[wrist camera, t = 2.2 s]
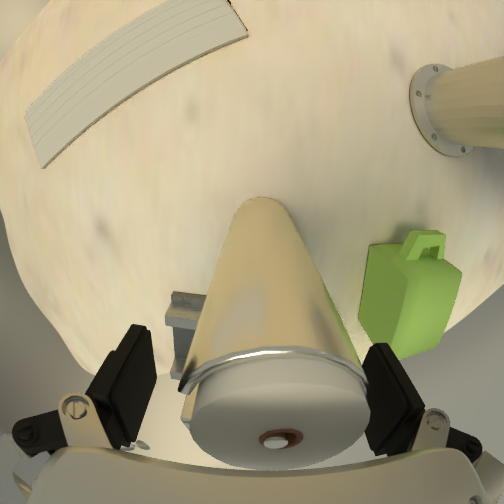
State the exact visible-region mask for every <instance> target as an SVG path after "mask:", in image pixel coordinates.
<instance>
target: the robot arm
mask: <svg viewBox="0 0 504 504" xmlns="http://www.w3.org/2000/svg"><path fill="white" fill-rule="evenodd" d="M410 103H411V108H412V112H413V116H414V118H415V121H416V124H417V126H418V128H419V130H420V132H421V133H422V134H423V136H424V137H425V139H426V140H427V141H428V142H429V144H430V145H431V146H432V147H434V148H435V149H436V150H437V151H439V152H441V153H443V154H444V155H448V156H455V157H459V156H464V155H466V154H468V153H469V152H470V151H472V150H473V148H474V147H475V146H478V147H488V148H497V149H504V57H499V58H495V59H490V60H486V61H482V62H478V63H474V64H471V65H467V66H464V67H460V68H457V69H453V70H452V69H451V68H449V67H447V66H445V65H441V64H430V65H427V66H424V67H422V68H420V69H419V70H418V71H417V72H416V73H415V75H414V77H413V79H412V83H411V86H410ZM362 367H363V370H364V372H365V374H366V377H367V379H368V381H369V384H370V399H369V402H367V403H368V406H369V409H370V419H369V423H368V425H367V427H366V429H365V431H364V432H365V434H366V437H367V440H368V444H369V446H370V449H371V450H372V451H374V453H375V456H379V455H383V454H386V453H387V456H388V457H385V458H380V459H375V460H371V461H365V462H360V463H355V464H349V465H341V466H334V467H326V468H316V469H304V470H279V471H258V470H234V469H220V468H211V467H203V466H195V465H189V464H182V463H177V462H171V461H166V460H161V459H156V458H151V457H146V456H142V455H138V454H134V453H129V452H125V451H121V450H120V448H121V445H122V446H125V447H130V444H131V442H135V441H136V438H137V435H138V432H139V429H140V426H141V423H142V420H143V418H144V415H145V412H146V409H147V406H148V403H149V400H150V397H151V395H152V392H153V389H154V386H155V384H156V380H157V374H156V368H155V361H154V354H153V347H152V339H151V332H150V330H147V328H146V326H142V325H136V324H132V325H131V326H130V328H129V330H128V331H127V333H126V334H125V336H124V338H123V339H122V341H121V343H120V344H119V346H118V347H117V349H116V351H114V350H112V351H111V352H110V353H109V354H108V356H107V357H106V359H105V361H104V362H103V364H102V366H101V367H100V369H99V371H98V372H97V374H96V376H95V377H94V379H93V381H92V382H91V384H90V386H89V388H88V389H87V391H86V393H85V394H82V393H77V392H76V393H70V394H67V395H66V396H64V397H63V398H62V399H61V400H60V402H59V405H58V410H54V411H51V412H48V413H44V414H40V415H37V416H33V417H29V418H25V419H22V420H19V421H18V422H17V423H15V425H14V427H13V430H12V434H11V435H8V434H5V435H3V436H1V437H0V504H497V502H498V500H499V498H500V496H501V495H502V493H503V491H504V464H502V463H501V462H500V461H499V460H497V459H496V458H494V457H493V456H492V455H491V454H489V453H488V452H487V451H484V452H482V445H481V443H480V441H479V440H478V439H477V438H475V437H473V436H471V435H469V434H466V433H464V432H461V431H459V430H456V429H454V428H451V427H450V420H449V417H448V416H447V414H446V413H445V412H444V411H442V410H440V409H436V408H431V409H428V410H427V411H425V409H424V407H425V404H424V403H423V401H422V399H421V397H420V395H419V394H418V392H417V390H416V389H415V387H414V385H413V384H412V382H411V380H410V378H409V377H408V375H407V373H406V372H405V370H404V368H403V367H402V365H401V363H400V362H399V360H398V359H397V357H396V355H395V354H394V352H393V351H392V349H391V347H390V346H389V344H388V343H375V344H374V345H373V346H371V347H370V348H369V351H368V353H367V355H366V358H365V360H364V362H363V364H362ZM35 480H36V481H35ZM34 481H35V484H34V486H33V488H31V487H32V483H33V482H34Z"/></svg>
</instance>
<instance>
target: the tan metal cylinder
mask: <svg viewBox="0 0 504 504" xmlns="http://www.w3.org/2000/svg"><path fill="white" fill-rule="evenodd" d="M178 391H179V392H181V393H183V394H186V398H185V402H184V406H183V410H182V414H181V421H182V422H183V423H184V424H185V425H186V427H187V428H188V429H189V431H190V433H191V435H192V438H193V440H194V441H195V442H196V443H197V444H198V445H199V447H200V448H201V449H202V450H203V451H204V452H206V453H208V454H209V455H211V456H212V457H214V458H216V459H218V460H220V461H222V462H224V463H227V464H229V465H232V466H237V467H243V468H250V469H257V470H287V469H294V468H299V467H305V466H309V465H312V464H315V463H318V462H322V461H324V460H326V459H328V458H331V457H333V456H335V455H337V454H339V453H341V452H342V451H344V450H345V449H347V448H348V447H350V446H351V445H353V444H354V443H355V441H356V440H358V439H359V438H360V437H361V436H362V434H363V433H364V431H365V429H366V427H367V425H368V423H369V419H370V409H369V406H368V403H367V402H369V399H370V384H369V381H368V379H367V377H366V374H365V372H364V370H363V367H362V365H361V363H360V360H359V358H358V356H357V353H356V351H355V349H354V347H353V344H352V342H351V340H350V338H349V335H348V333H347V331H346V329H345V327H344V324H343V322H342V320H341V318H340V316H339V314H338V311H337V309H336V307H335V305H334V303H333V301H332V299H331V297H330V295H329V293H328V291H327V288H326V286H325V284H324V282H323V280H322V278H321V276H320V274H319V272H318V270H317V268H316V266H315V264H314V262H313V260H312V258H311V256H310V254H309V252H308V250H307V248H306V247H305V245H304V243H303V241H302V239H301V237H300V235H299V233H298V231H297V229H296V227H295V225H294V224H293V222H292V220H291V218H290V216H289V214H288V212H287V211H286V209H285V208H284V207H283V206H282V205H281V204H280V203H278V202H277V201H275V200H273V199H270V198H266V197H258V198H254V199H250V200H248V201H247V202H245V203H243V204H242V205H241V206H240V207H239V208H238V210H237V211H236V213H235V215H234V217H233V220H232V223H231V226H230V229H229V232H228V234H227V237H226V240H225V243H224V246H223V249H222V252H221V255H220V258H219V261H218V264H217V266H216V269H215V272H214V275H213V278H212V281H211V284H210V287H209V290H208V294H207V297H206V300H205V303H204V306H203V309H202V312H201V315H200V318H199V321H198V325H197V328H196V331H195V334H194V337H193V340H192V344H191V347H190V350H189V353H188V357H187V360H186V363H185V367H184V370H183V373H182V377H181V380H180V383H179V387H178Z"/></svg>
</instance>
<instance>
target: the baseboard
mask: <svg viewBox="0 0 504 504" xmlns="http://www.w3.org/2000/svg"><path fill="white" fill-rule="evenodd" d="M227 1H228V2H229V4H230V5H231V2H230V1H229V0H227ZM227 1H226V0H168V1H166V2H164V3H162V4H160V5H159V6H157V7H155V8H153V9H151V10H149V11H147V12H146V13H144V14H142V15H141V16H139V17H137V18H135V19H134V20H132V21H131V22H129V23H127V24H126V25H124V26H123V27H121V28H120V29H118V30H117V31H115V32H114V33H112V34H111V35H109V36H108V37H107V38H105V39H104V40H102V41H101V42H100V43H98V44H97V45H96V46H94V47H93V48H92V49H91V50H89V51H88V52H87V53H85V54H84V55H83V56H82V57H81V58H79V59H78V60H77V61H76V62H75V63H74V64H72V65H71V66H70V67H69V68H68V69H67V70H66V71H64V72H63V73H62V74H61V75H60V76H59V77H58V78H57V79H56V80H55V81H54V82H53V83H52V84H51V85H50V86H49V87H48V88H47V89H46V90H45V91H44V92H43V93H42V94H41V95H40V96H39V97H38V98H37V99H36V100H35V102H34V103H33V104H32V105H31V106H30V107H29V108H28V109H27V111H26V116H25V121H26V123H27V128H28V130H29V134H30V138H31V140H32V143H33V147H34V149H35V152H36V156H37V159H38V162H39V164H40V167H41V169H43V168H45V167H46V166H47V165H48V164H49V163H50V162H51V161H52V160H53V159H54V158H55V157H56V156H57V155H58V154H59V153H61V152H62V151H63V150H64V149H65V148H66V147H67V146H68V145H69V144H70V143H71V142H73V141H74V140H75V139H76V138H77V137H78V136H79V135H81V134H82V133H83V132H84V131H85V130H87V129H88V128H89V127H90V126H91V125H93V124H94V123H95V122H96V121H98V120H99V119H100V118H102V117H103V116H104V115H106V114H107V113H108V112H110V111H111V110H112V109H114V108H115V107H116V106H118V105H119V104H121V103H122V102H123V101H125V100H126V99H128V98H129V97H131V96H132V95H134V94H135V93H137V92H138V91H140V90H141V89H143V88H145V87H146V86H148V85H149V84H151V83H153V82H154V81H156V80H158V79H159V78H161V77H163V76H165V75H166V74H168V73H170V72H172V71H174V70H175V69H177V68H179V67H181V66H183V65H185V64H187V63H189V62H191V61H193V60H195V59H197V58H199V57H201V56H203V55H205V54H207V53H209V52H212V51H214V50H216V49H218V48H221V47H223V46H225V45H228V44H230V43H233V42H235V41H238V40H240V39H243V38H246V37H248V34H247V32H246V30H247V28H246V27H245V28H246V30H245V29H244V27H243V26H242V24H241V22H242V21H241V22H240V21H239V19H240V18H239V19H238V18H237V17H236V15H235V13H236V12H235V13H234V12H233V10H234V9H233V10H232V9H231V7H232V6H231V7H230V6H229V5H228V3H227ZM232 8H233V7H232ZM234 11H235V10H234ZM236 14H237V13H236ZM237 16H238V15H237ZM238 17H239V16H238ZM240 20H241V19H240ZM242 23H243V22H242ZM243 25H244V24H243ZM247 31H248V30H247Z"/></svg>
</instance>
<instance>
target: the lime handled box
mask: <svg viewBox="0 0 504 504" xmlns="http://www.w3.org/2000/svg"><path fill="white" fill-rule="evenodd" d="M445 237H446V235H445V234H443V233H441V232H439V231H437V230H410V232H409V234H408V236H407V238H406V240H405V242H404V244H378V245H371V246H370V248H369V255H368V261H367V268H366V274H365V280H364V286H363V293H362V299H361V305H360V310H359V317H358V319H359V321H360V323H361V324H362V326H363V328H364V330H365V331H366V333H367V335H368V336H369V338H370V340H371V341H372V343H373V345H374V344H375V343H388V344H389V346H390V347H391V349H392V351H393V352H394V354H395V355H396V357H397V359H404V358H405V357H409V356H412V355H416V354H419V353H421V352H424V351H427V350H430V349H433V348H435V347H437V345H438V344H439V342H440V340H441V337H442V335H443V333H444V330H445V328H446V326H447V323H448V320H449V318H450V315H451V312H452V309H453V306H454V303H455V300H456V296H457V293H458V289H459V286H460V282H461V277H462V272H461V271H460V270H459V269H457V268H456V267H455V266H453V265H452V264H451V263H449V262H448V261H446V260H445V259H443V258H444V248H445ZM429 247H430V249H428V248H429Z"/></svg>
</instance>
